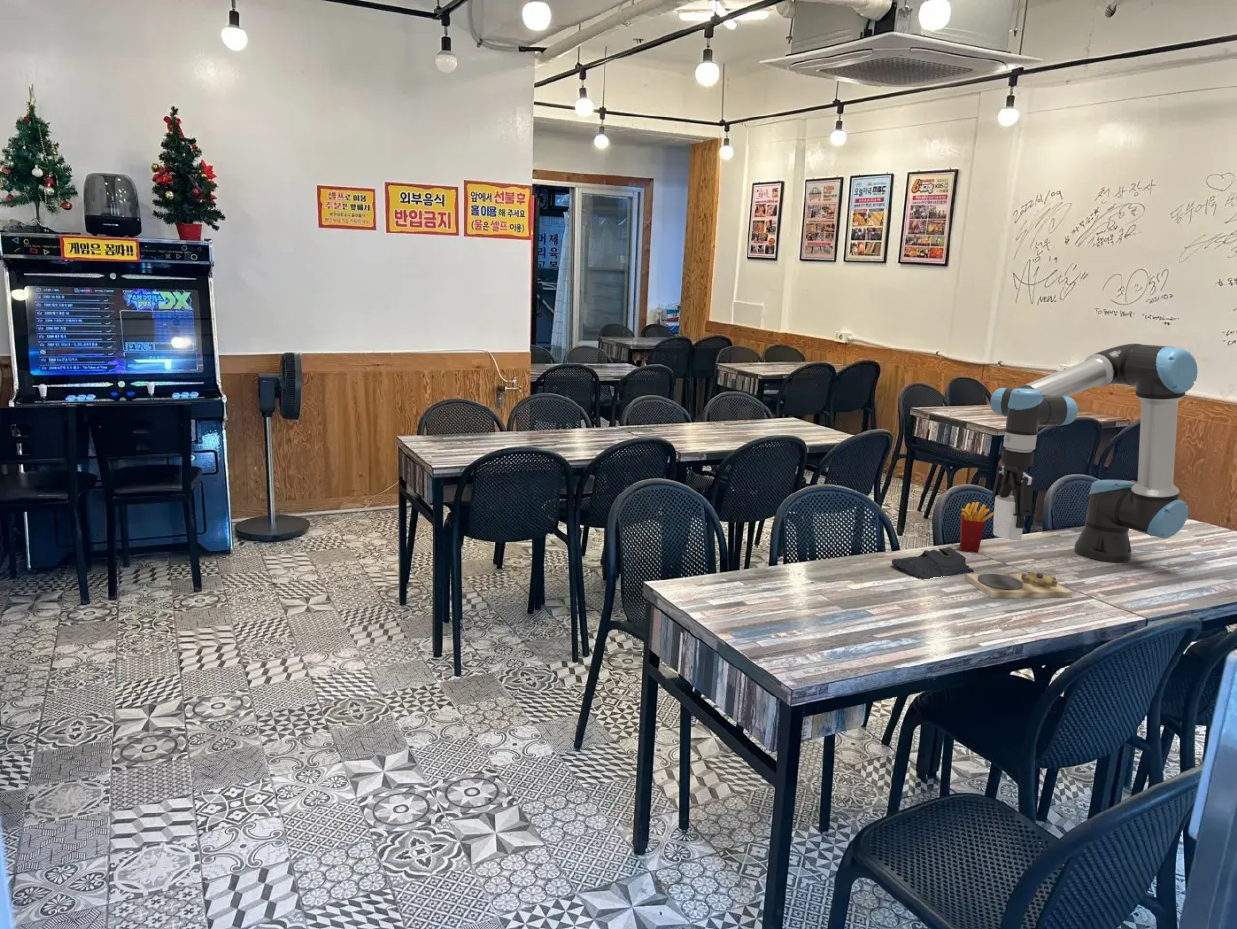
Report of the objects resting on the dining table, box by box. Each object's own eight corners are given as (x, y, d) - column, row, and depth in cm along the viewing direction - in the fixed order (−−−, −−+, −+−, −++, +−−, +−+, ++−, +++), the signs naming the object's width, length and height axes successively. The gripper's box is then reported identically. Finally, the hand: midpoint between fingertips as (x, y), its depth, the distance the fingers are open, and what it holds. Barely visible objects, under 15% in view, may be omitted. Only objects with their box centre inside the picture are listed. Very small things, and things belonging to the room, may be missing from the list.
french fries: (957, 551, 262) (963, 503, 259) (955, 543, 270) (961, 497, 267) (989, 555, 260) (995, 506, 256) (986, 547, 267) (992, 500, 264)
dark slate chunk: (881, 565, 248) (883, 549, 247) (937, 556, 258) (939, 541, 257) (923, 583, 235) (925, 566, 234) (979, 573, 245) (981, 557, 244)
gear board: (1040, 578, 240) (1042, 565, 239) (1071, 597, 227) (1073, 582, 226) (964, 579, 238) (966, 565, 237) (991, 597, 224) (993, 583, 223)
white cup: (1017, 532, 232) (1022, 495, 230) (1027, 541, 224) (1032, 503, 222) (986, 530, 233) (991, 494, 230) (995, 539, 225) (1001, 501, 223)
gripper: (984, 441, 233) (973, 523, 238) (1027, 457, 213) (1014, 546, 218) (1010, 441, 234) (999, 523, 239) (1056, 457, 214) (1042, 546, 219)
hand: (1006, 534), depth 228 cm, fingers closed on white cup, 8 cm apart
